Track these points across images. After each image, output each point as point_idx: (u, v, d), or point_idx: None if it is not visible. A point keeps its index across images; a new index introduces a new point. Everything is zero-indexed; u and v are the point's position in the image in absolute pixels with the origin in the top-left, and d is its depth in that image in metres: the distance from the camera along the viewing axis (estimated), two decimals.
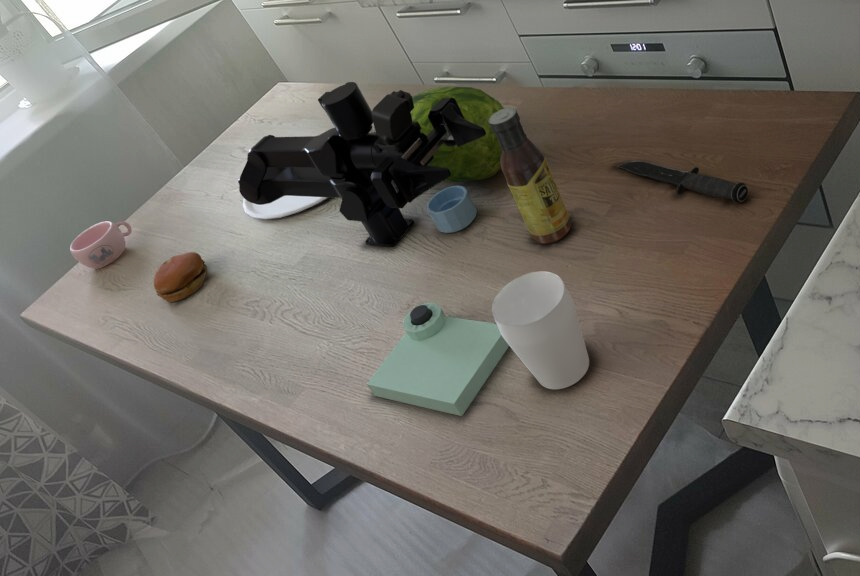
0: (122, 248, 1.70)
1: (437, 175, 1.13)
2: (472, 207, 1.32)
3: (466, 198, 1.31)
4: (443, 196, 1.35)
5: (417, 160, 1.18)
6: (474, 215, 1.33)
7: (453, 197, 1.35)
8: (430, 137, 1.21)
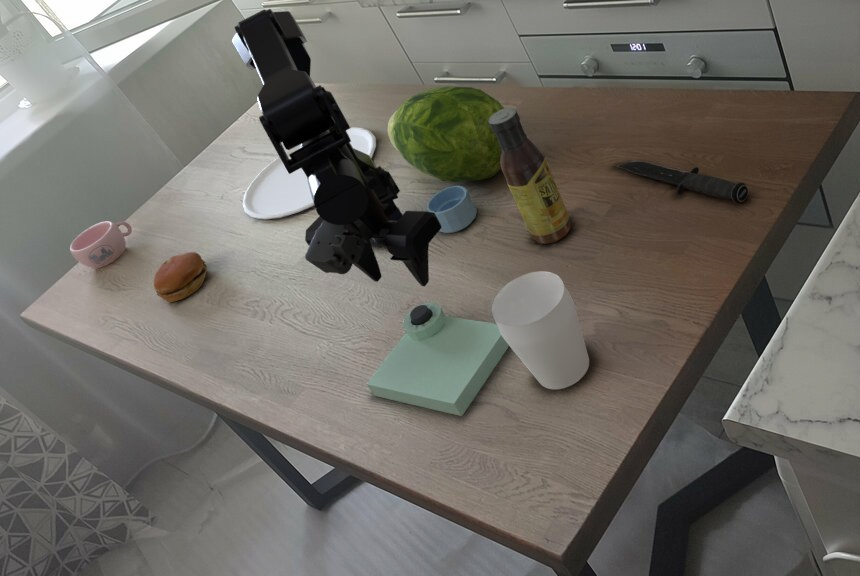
0: (122, 248, 1.70)
1: None
2: (472, 207, 1.32)
3: (466, 198, 1.31)
4: (443, 196, 1.35)
5: None
6: (474, 215, 1.33)
7: (453, 197, 1.35)
8: (383, 234, 1.02)
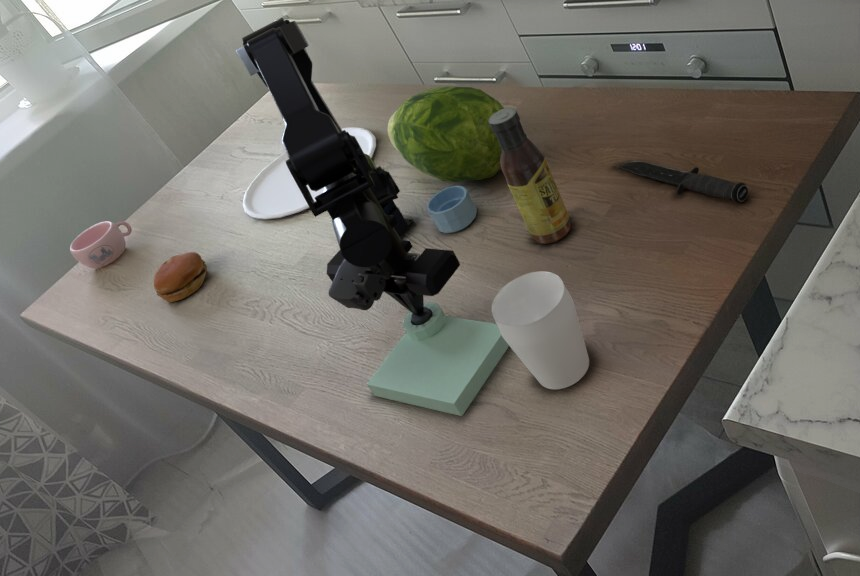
0: (122, 248, 1.70)
1: None
2: (472, 207, 1.32)
3: (466, 198, 1.31)
4: (443, 196, 1.35)
5: None
6: (474, 215, 1.33)
7: (453, 197, 1.35)
8: (403, 270, 1.05)
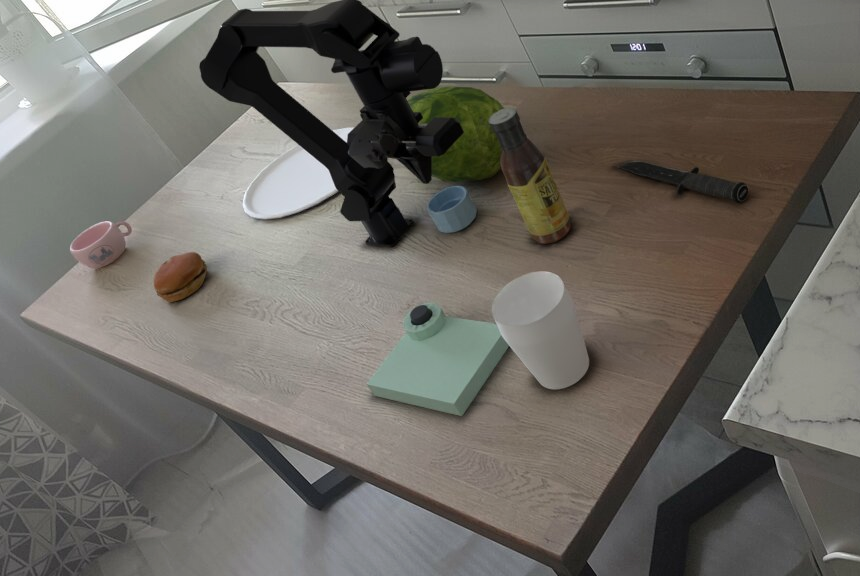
0: (122, 248, 1.70)
1: None
2: (472, 207, 1.32)
3: (466, 198, 1.31)
4: (443, 196, 1.35)
5: None
6: (474, 215, 1.33)
7: (453, 197, 1.35)
8: None
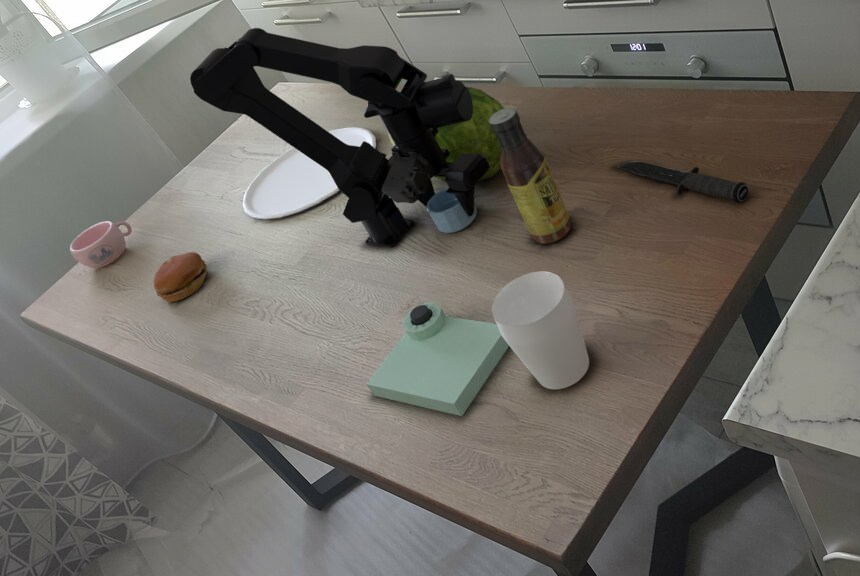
0: (122, 248, 1.70)
1: None
2: None
3: None
4: (443, 196, 1.35)
5: None
6: (474, 215, 1.33)
7: (453, 197, 1.35)
8: (442, 173, 1.27)
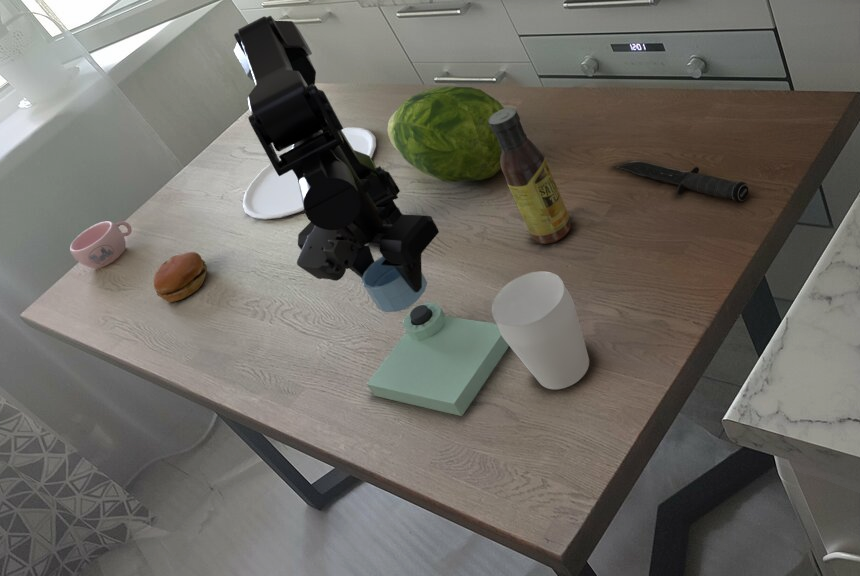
0: (122, 248, 1.70)
1: None
2: None
3: None
4: None
5: None
6: (423, 289, 1.04)
7: None
8: (378, 239, 0.98)
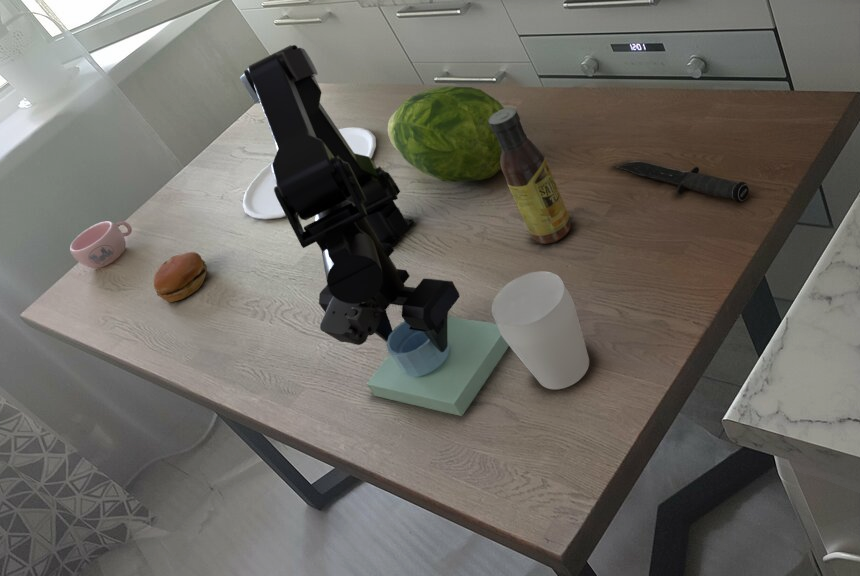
0: (122, 248, 1.70)
1: None
2: None
3: None
4: (409, 326, 1.09)
5: None
6: (446, 354, 1.06)
7: None
8: (399, 301, 0.99)
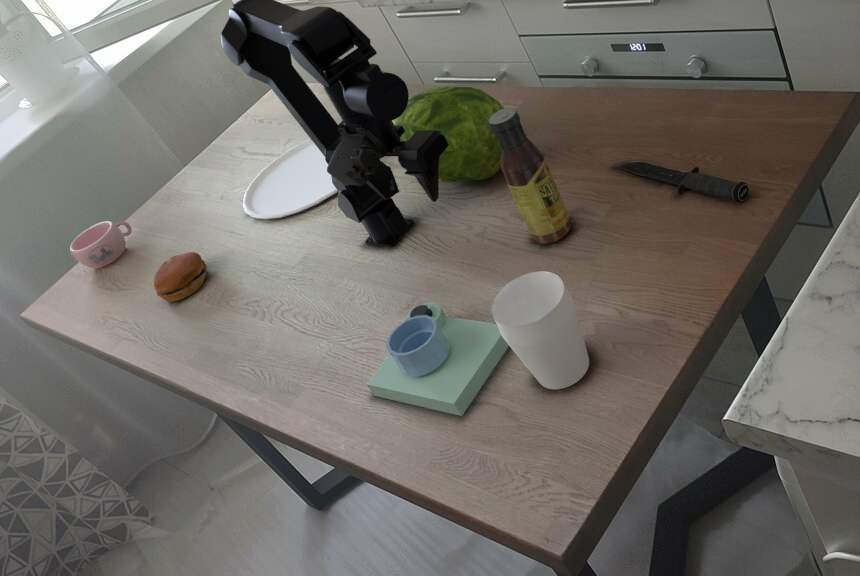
0: (122, 248, 1.70)
1: None
2: (443, 345, 1.06)
3: (436, 335, 1.04)
4: (409, 326, 1.09)
5: None
6: (446, 354, 1.06)
7: (421, 328, 1.09)
8: (396, 152, 1.13)
